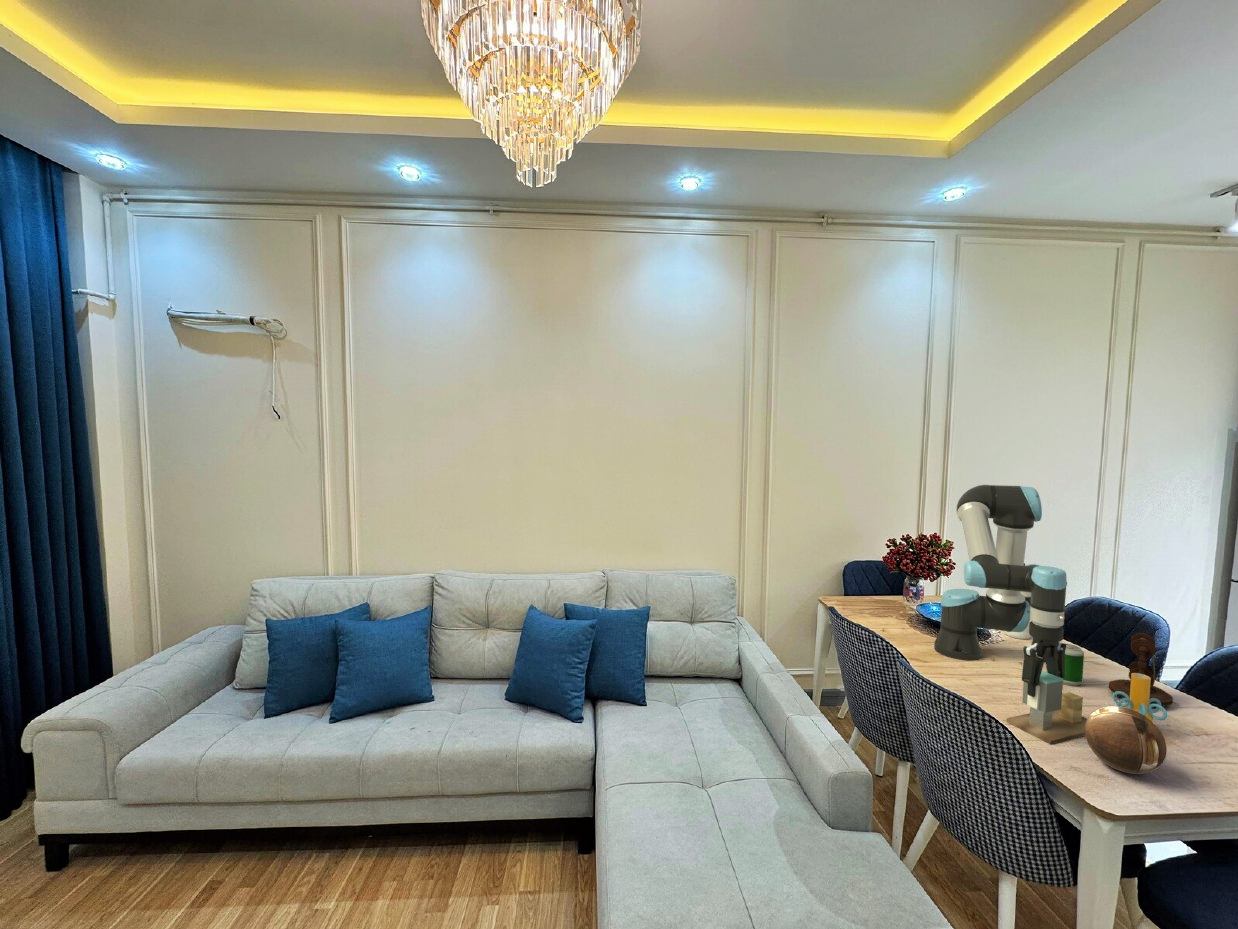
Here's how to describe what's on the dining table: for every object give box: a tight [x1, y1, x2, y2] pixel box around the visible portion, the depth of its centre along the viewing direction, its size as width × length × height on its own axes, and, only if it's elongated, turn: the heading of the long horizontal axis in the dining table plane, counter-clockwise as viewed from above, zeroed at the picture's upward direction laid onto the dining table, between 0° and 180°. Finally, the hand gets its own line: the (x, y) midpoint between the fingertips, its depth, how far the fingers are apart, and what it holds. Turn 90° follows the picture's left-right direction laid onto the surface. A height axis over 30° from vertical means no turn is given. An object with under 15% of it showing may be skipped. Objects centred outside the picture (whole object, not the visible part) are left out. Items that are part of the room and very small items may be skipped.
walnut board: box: [1006, 691, 1088, 745], centre depth 158 cm, size 12×22×8 cm, turn 109°
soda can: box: [1059, 642, 1085, 687], centre depth 186 cm, size 8×8×12 cm
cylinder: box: [1111, 673, 1168, 723], centre depth 157 cm, size 12×10×15 cm
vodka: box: [1003, 562, 1032, 640], centre depth 226 cm, size 9×9×30 cm
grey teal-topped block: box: [1022, 670, 1064, 713], centre depth 156 cm, size 6×6×9 cm
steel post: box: [1029, 706, 1053, 731], centre depth 156 cm, size 4×4×7 cm
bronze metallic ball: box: [1085, 705, 1168, 775], centre depth 139 cm, size 15×15×15 cm
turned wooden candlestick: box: [1107, 632, 1174, 711], centre depth 174 cm, size 15×15×20 cm
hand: (1041, 705), depth 156 cm, fingers closed on grey teal-topped block, 6 cm apart
